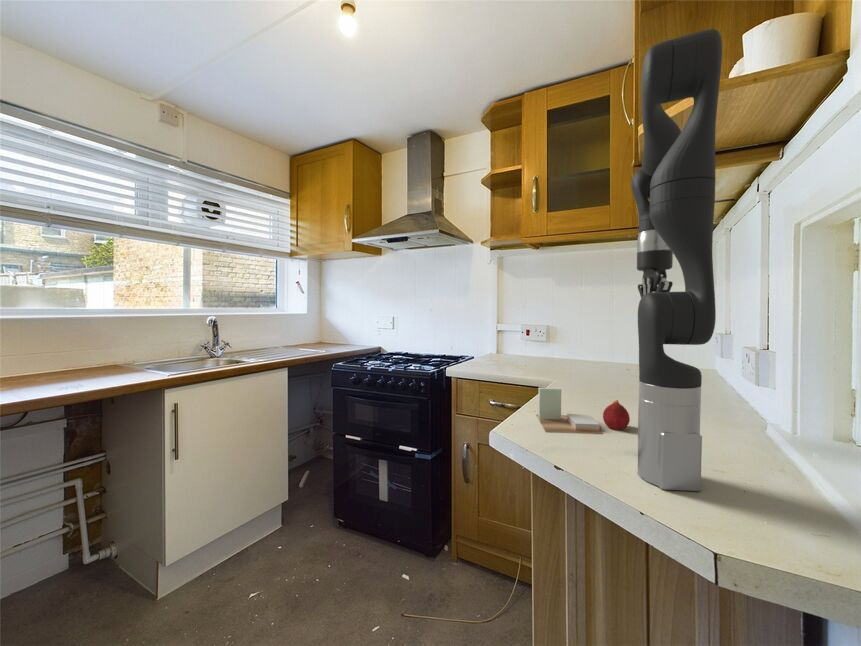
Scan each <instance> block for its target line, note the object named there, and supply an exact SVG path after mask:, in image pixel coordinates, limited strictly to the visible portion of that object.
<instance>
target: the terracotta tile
mask: <svg viewBox="0 0 861 646" xmlns="http://www.w3.org/2000/svg"><path fill="white" fill-rule="evenodd" d="M566 415H567V420H568V422H569V423H570V424H571V425H572V426H573V428H574V429H575V430H585V431H601V429H600V428H601V427H600V425H601V424H600V423H599V422H598V421H597V420H596V419H594V417H593V416H592V415H591V414H589V413H588V414H587V413H586V414H585V413H567V414H566Z"/></svg>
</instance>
